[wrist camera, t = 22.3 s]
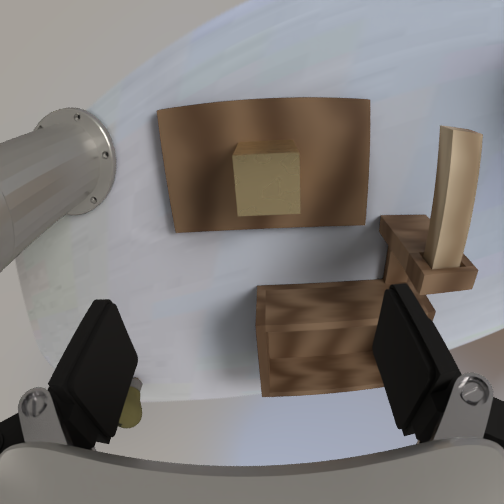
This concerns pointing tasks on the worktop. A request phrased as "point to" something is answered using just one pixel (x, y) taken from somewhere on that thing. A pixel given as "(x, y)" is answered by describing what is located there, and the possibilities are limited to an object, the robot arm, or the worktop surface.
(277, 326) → the wooden box
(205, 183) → the lid
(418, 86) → the worktop surface
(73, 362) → the robot arm
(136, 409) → the light bulb
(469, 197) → the wooden key
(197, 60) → the worktop surface
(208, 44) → the worktop surface
